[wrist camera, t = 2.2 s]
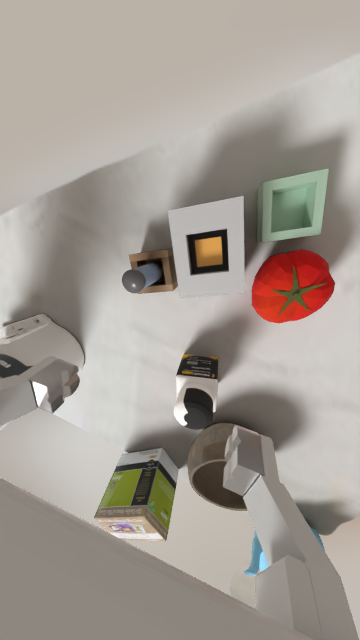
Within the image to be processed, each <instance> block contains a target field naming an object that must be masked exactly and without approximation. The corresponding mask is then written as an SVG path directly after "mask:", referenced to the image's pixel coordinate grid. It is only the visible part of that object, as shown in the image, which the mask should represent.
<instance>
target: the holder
mask: <svg viewBox="0 0 360 640" xmlns="http://www.w3.org/2000/svg"><path fill="white" fill-rule="evenodd" d="M129 258H130V263H131V267H132V269H134V268H137V267H140V266H143V265H146V264H149V263H152V262H155V261H160V262H162V264H163V270H164V277H162V278H161V279H159V280H157V281H156V282H154V283H153V284H151V285H149V286H148V287H146V288H145V289H143V290H142V291H140V292H138V293H137V294H142V293H154V292H165V291H173V290H174V289H175V288H176V287H177V286H178V282H177V275H176V268H175V261H174V254H173V248H172V249H165V250H158V251H151V252H144V253H137V254H132V255H129Z"/></svg>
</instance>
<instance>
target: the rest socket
mask: <svg viewBox="0 0 360 640" xmlns="http://www.w3.org/2000/svg"><path fill="white" fill-rule="evenodd" d="M328 172H329V168H328V169H323V170H319V171H314V172H309V173H304V174H299V175H294V176H290V177H285V178H280V179H275V180H270V181H266V182H263V183H262V185H261V186H260V188H259V189H258V221H257V242H269V241H276V240H283V239H291V238H298V237H305V236H313V235H320V234H321V228H322V220H323V212H324V204H325V196H326V188H327V180H328Z"/></svg>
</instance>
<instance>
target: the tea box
mask: <svg viewBox="0 0 360 640" xmlns="http://www.w3.org/2000/svg"><path fill="white" fill-rule="evenodd" d="M178 471H179V470H178V468H177V467H176V465H175V464H174V462H173V461H172V460H171V458H170V457H169V456H168V454H167V453H166V452H165V450H164V449H163V448H158V449H152V450H146V451H140V452H133V453H127V454H122V455H121V457H120V460H119V462H118V464H117V466H116V469H115V471H114V473H113V475H112V478H111V480H110V482H109V485H108V487H107V489H106V491H105V494H104V496H103V498H102V501H101V503H100V505H99V507H98V509H97V512H96V514H95V516H94V518H95V519H96V520H97V521H98V522H99V523H100V524H101V525H102V526H103V527H105V528H106V529H107V530H108V531H109V532H110V533H111V534H112V535H114V536H116V537H118V538H120V539H122V540H144V541H145V540H146V541H148V540H149V541H166V540H167V534H168V529H169V523H170V517H171V511H172V505H173V500H174V495H175V489H176V483H177V477H178Z"/></svg>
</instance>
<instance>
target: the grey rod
mask: <svg viewBox="0 0 360 640" xmlns="http://www.w3.org/2000/svg"><path fill="white" fill-rule="evenodd" d="M162 277H164V270H163V264H162V262H160V261H155V262H152V263H149V264H146V265H143V266H140V267H137V268H134V269H131V270H128V271H126V272H125V273H124V274H123V277H122V283H123V286H124V287H125V289H126V290H127V291H129V292H131V293H138V292H140V291H142V290H143V289H145V288H146V287H148V286H149V285H151V284H153V283H154V282H156V281H157V280H159V279H161V278H162Z"/></svg>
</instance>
